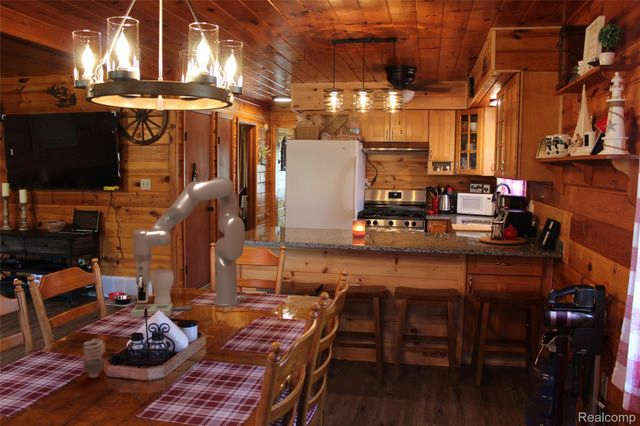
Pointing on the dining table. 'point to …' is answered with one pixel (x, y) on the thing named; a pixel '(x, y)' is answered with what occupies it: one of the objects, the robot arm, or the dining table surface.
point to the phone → (182, 309)
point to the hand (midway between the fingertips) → (142, 298)
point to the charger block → (146, 295)
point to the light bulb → (95, 363)
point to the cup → (162, 285)
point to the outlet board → (151, 309)
